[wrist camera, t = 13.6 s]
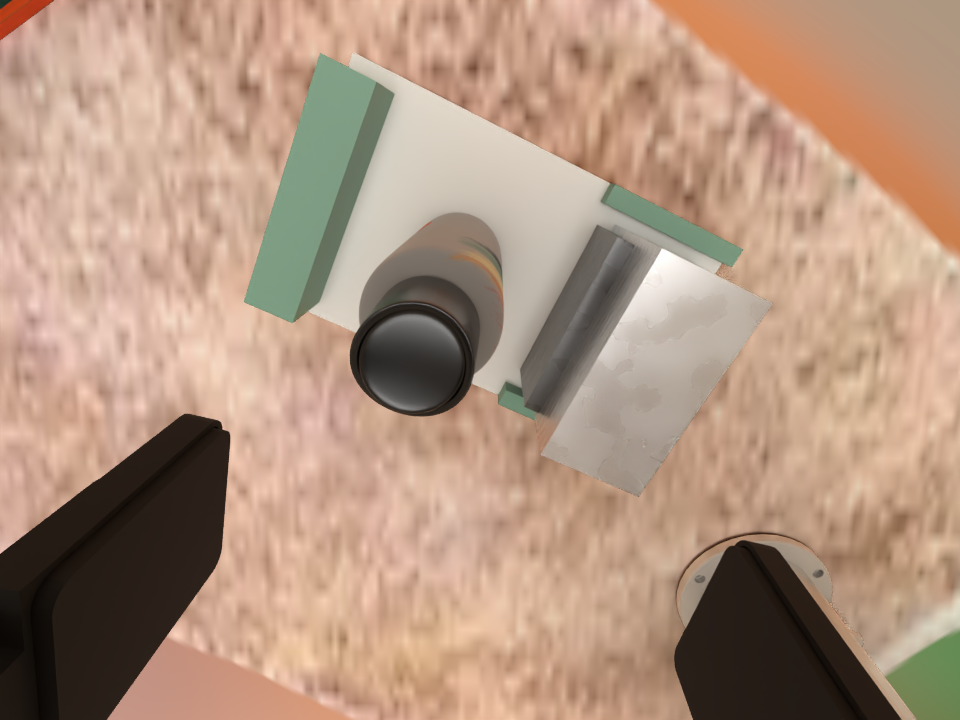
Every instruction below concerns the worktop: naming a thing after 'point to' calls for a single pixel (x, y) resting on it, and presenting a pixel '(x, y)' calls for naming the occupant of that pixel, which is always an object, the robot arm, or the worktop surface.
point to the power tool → (18, 13)
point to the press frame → (437, 208)
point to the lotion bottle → (430, 317)
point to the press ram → (631, 356)
